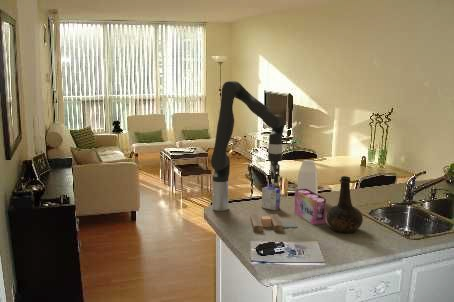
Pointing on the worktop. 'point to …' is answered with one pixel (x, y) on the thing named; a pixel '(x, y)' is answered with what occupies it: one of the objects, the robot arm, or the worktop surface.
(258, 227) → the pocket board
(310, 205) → the gum box
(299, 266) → the worktop surface
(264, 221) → the block
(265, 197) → the ink cartridge box
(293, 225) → the slate mat
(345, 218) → the glass bottle
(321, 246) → the worktop surface
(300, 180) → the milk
